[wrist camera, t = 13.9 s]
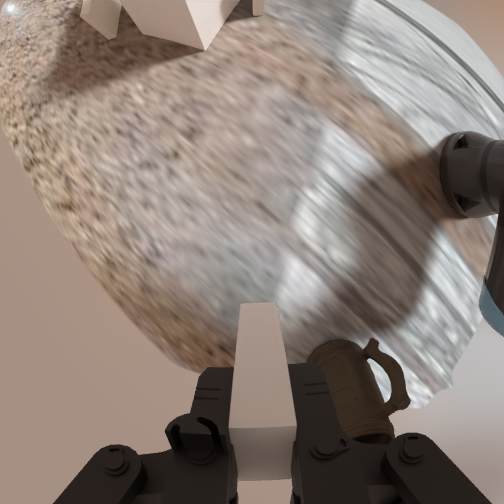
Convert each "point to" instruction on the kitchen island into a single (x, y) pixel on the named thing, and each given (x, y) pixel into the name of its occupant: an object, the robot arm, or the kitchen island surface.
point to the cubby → (108, 12)
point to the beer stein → (361, 389)
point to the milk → (180, 19)
